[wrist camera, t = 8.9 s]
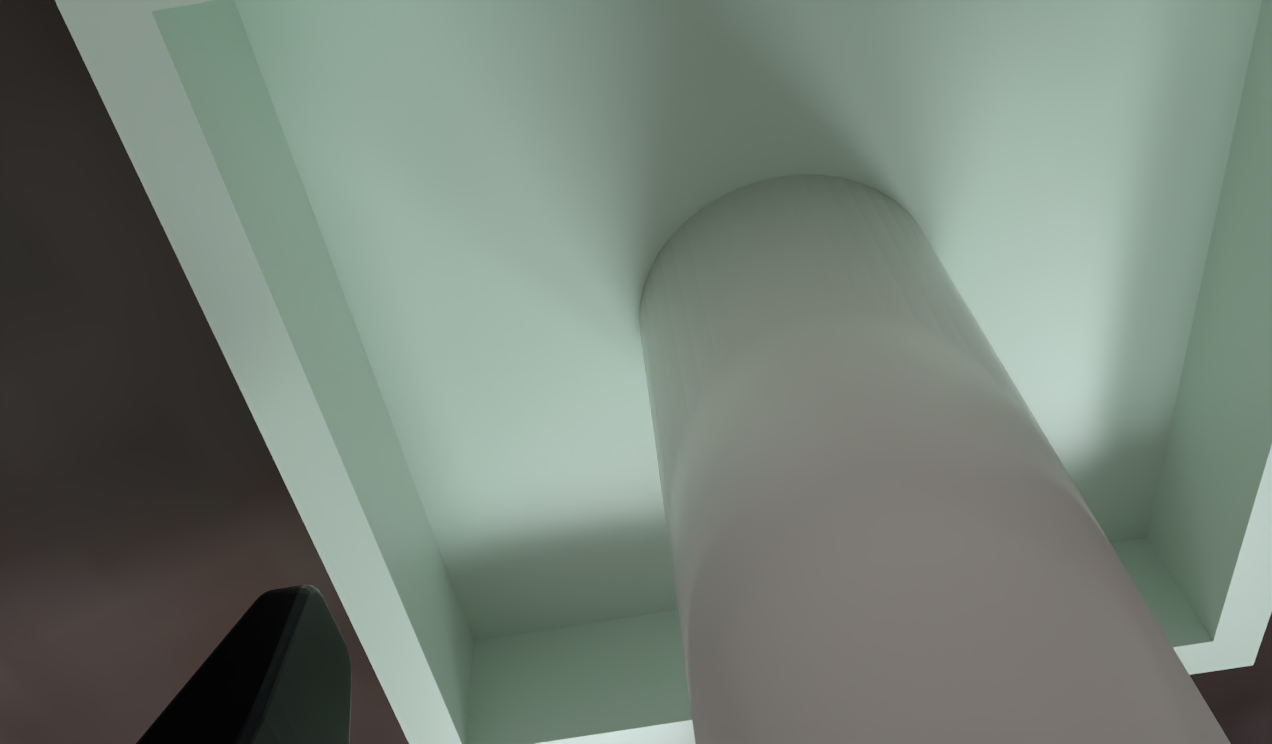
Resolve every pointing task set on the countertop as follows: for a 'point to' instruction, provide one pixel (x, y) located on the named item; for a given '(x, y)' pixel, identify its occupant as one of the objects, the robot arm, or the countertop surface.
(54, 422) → the countertop surface
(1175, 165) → the tray
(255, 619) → the robot arm
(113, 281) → the countertop surface
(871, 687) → the cylinder
